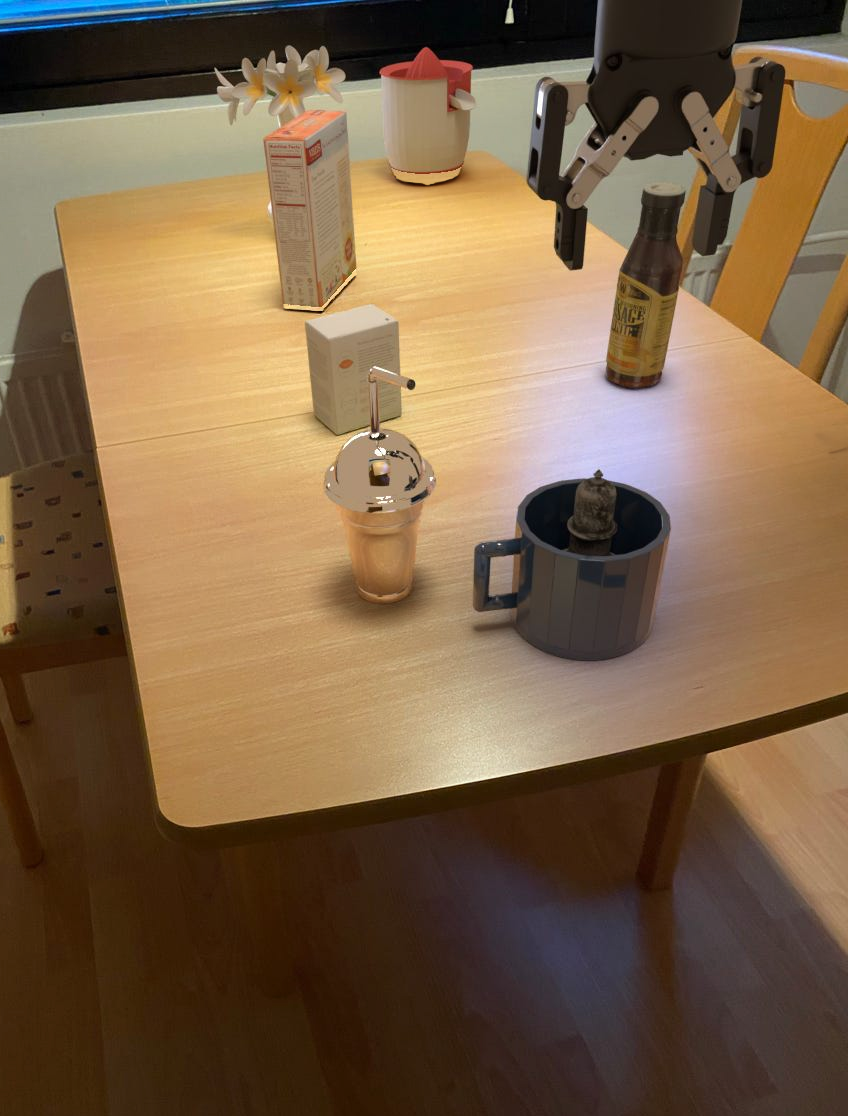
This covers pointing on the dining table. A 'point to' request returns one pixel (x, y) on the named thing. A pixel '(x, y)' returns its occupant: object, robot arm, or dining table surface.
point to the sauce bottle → (647, 291)
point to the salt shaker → (593, 517)
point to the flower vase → (282, 86)
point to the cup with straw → (380, 500)
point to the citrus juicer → (426, 113)
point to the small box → (352, 366)
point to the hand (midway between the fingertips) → (638, 259)
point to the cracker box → (311, 205)
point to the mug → (579, 575)
